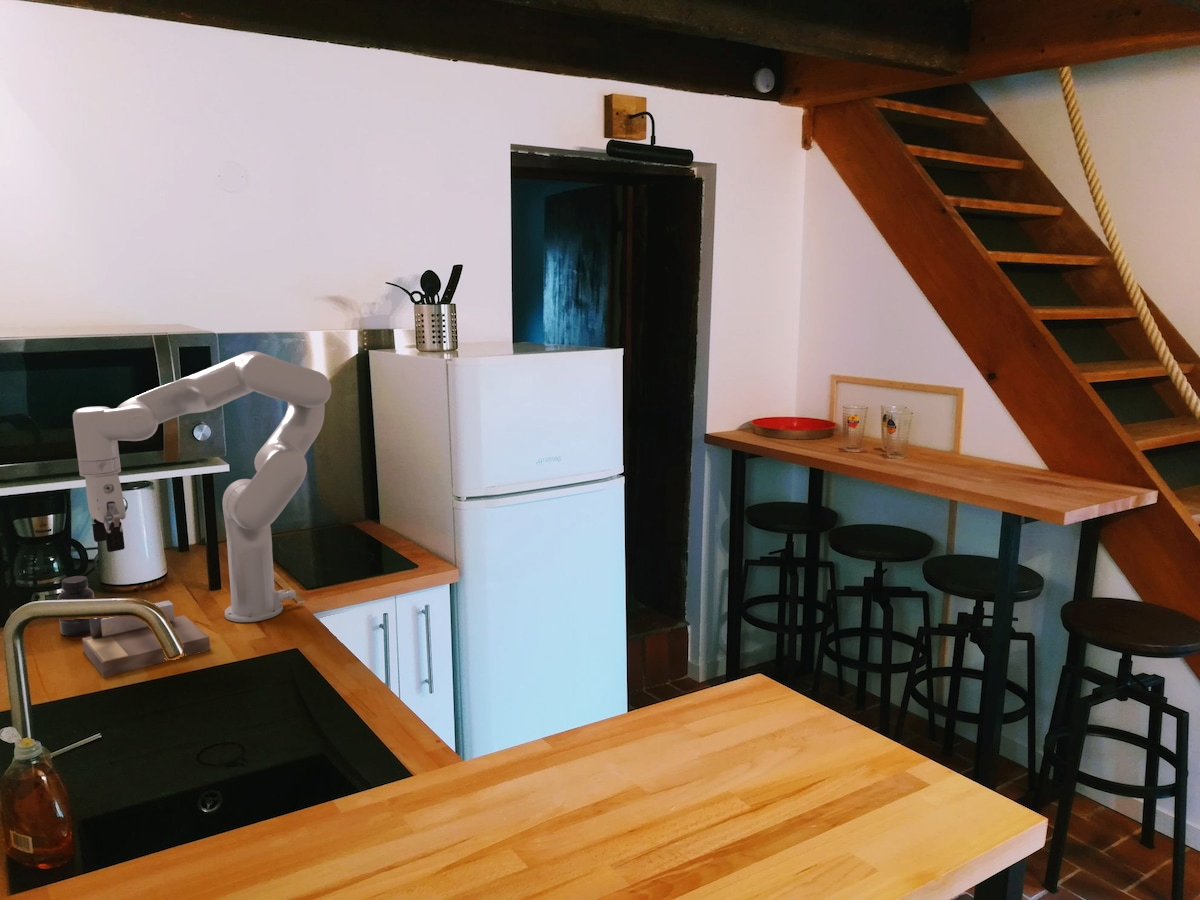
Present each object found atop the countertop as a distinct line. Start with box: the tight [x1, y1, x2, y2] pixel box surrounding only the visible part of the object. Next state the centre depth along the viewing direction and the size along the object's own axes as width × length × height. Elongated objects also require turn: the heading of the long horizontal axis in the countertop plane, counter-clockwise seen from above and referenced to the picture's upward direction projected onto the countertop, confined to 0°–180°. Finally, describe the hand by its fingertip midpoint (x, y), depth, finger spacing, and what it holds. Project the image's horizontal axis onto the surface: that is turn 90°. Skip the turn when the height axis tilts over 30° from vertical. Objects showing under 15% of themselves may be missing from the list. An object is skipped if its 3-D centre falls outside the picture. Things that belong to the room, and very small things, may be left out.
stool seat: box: [81, 614, 211, 678], centre depth 183 cm, size 20×16×3 cm
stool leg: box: [89, 600, 175, 638], centre depth 186 cm, size 16×3×4 cm, turn 132°
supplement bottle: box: [57, 575, 95, 637], centre depth 193 cm, size 7×7×12 cm
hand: (109, 545), depth 187 cm, fingers open, 9 cm apart
